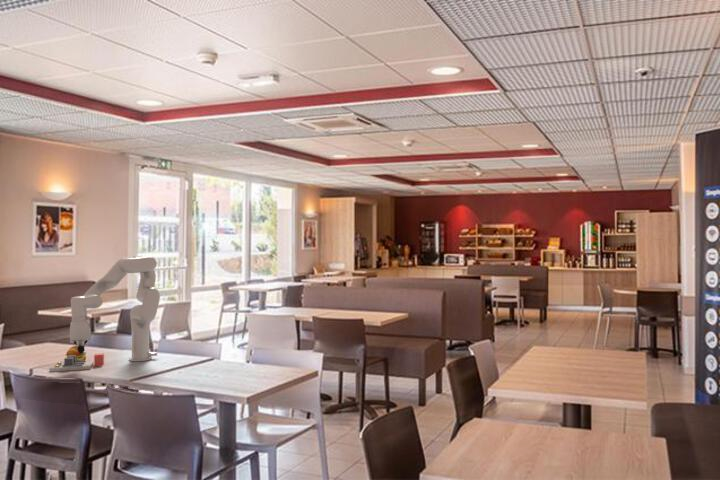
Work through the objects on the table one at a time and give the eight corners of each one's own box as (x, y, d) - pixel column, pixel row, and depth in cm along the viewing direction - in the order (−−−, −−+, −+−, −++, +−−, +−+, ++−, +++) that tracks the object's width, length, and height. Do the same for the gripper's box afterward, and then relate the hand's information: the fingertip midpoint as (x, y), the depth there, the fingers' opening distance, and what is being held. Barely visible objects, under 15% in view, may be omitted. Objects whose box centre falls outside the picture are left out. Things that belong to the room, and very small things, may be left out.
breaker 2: (76, 362, 337) (76, 355, 337) (75, 363, 333) (74, 356, 333) (68, 362, 335) (68, 355, 335) (67, 364, 332) (66, 356, 332)
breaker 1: (73, 364, 331) (73, 357, 331) (72, 365, 327) (72, 358, 327) (65, 365, 330) (65, 357, 330) (64, 366, 326) (64, 358, 326)
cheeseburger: (90, 359, 356) (88, 343, 353) (81, 367, 346) (78, 351, 343) (74, 358, 357) (72, 342, 354) (64, 366, 346) (61, 350, 344)
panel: (93, 364, 340) (93, 359, 340) (90, 369, 329) (90, 363, 329) (54, 367, 335) (54, 361, 335) (49, 371, 323) (49, 366, 323)
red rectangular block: (104, 364, 343) (104, 353, 343) (103, 365, 339) (103, 354, 338) (95, 364, 342) (95, 353, 342) (94, 366, 337) (94, 355, 337)
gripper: (95, 317, 336) (97, 350, 336) (65, 319, 332) (67, 352, 332) (93, 319, 328) (95, 353, 329) (63, 321, 324) (65, 355, 325)
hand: (81, 352), depth 331 cm, fingers closed
